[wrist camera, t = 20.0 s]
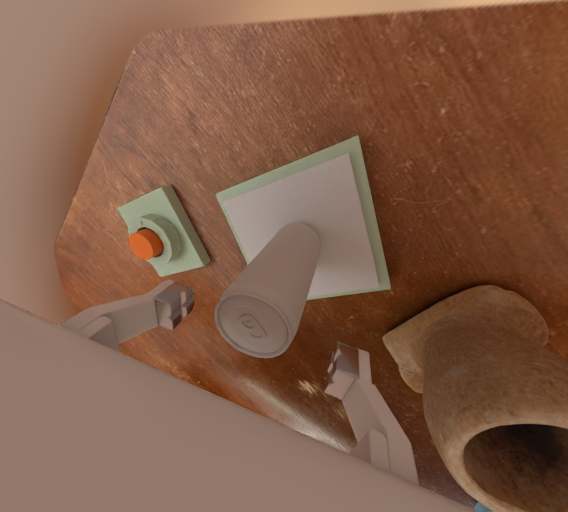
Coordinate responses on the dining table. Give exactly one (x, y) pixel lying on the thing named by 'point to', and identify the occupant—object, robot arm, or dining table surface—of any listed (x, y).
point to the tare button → (146, 244)
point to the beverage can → (270, 294)
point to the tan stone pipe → (491, 396)
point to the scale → (316, 217)
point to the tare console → (166, 230)
